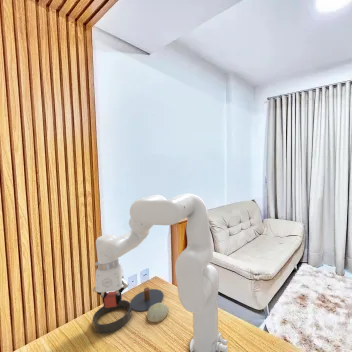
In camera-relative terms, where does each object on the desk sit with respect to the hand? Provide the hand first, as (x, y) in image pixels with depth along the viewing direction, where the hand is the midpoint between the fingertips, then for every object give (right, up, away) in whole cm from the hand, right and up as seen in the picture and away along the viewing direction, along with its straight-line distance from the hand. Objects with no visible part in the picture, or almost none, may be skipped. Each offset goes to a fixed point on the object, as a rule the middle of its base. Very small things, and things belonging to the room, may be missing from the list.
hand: (112, 302), depth 91 cm
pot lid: (+10, -7, +13) cm, 18 cm away
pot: (0, -9, +1) cm, 9 cm away
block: (0, -1, 0) cm, 1 cm away
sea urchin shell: (+19, -9, +3) cm, 21 cm away
